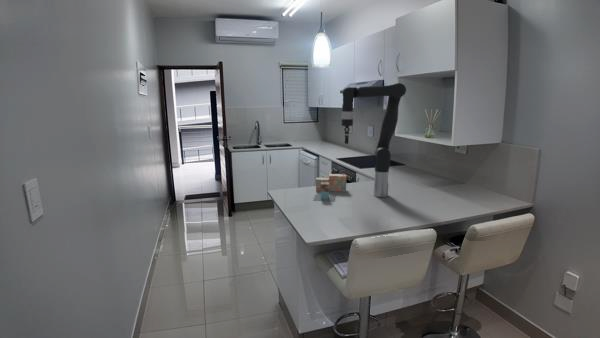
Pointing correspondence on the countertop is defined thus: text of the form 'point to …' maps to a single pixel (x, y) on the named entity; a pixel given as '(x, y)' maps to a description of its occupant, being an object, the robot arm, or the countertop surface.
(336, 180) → the stack of blocks
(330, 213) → the countertop surface
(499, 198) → the countertop surface
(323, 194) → the teal cube
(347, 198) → the countertop surface
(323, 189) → the walnut cube
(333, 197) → the build mat
